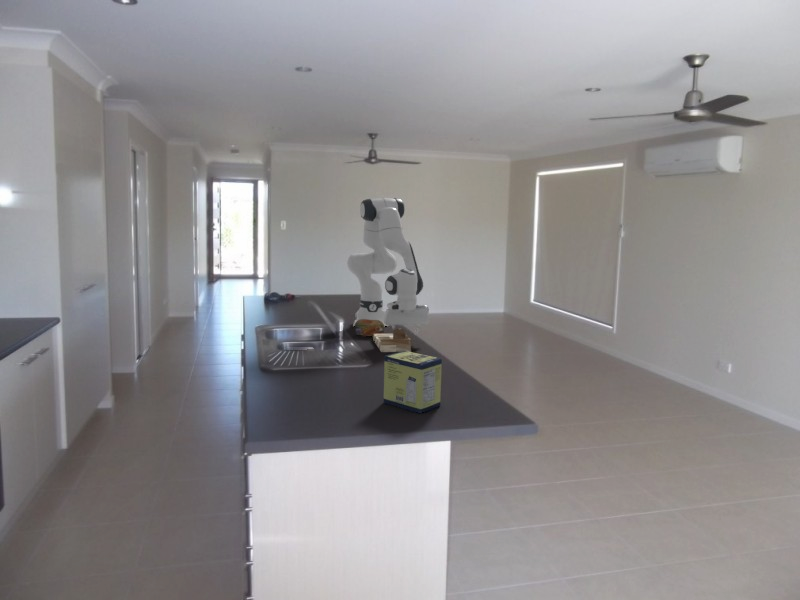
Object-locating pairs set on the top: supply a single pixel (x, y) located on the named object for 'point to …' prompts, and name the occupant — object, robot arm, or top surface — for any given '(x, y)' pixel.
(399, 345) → the board
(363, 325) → the tin
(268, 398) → the top surface
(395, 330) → the walnut block
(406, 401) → the protein box
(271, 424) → the top surface
